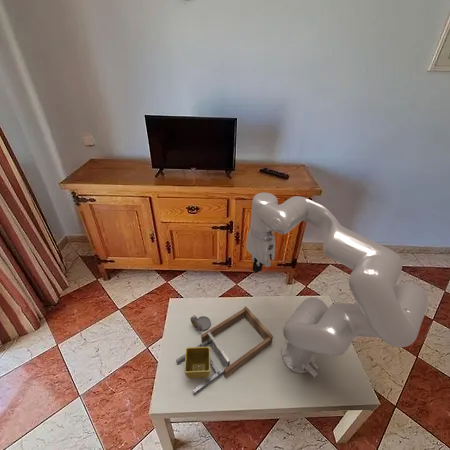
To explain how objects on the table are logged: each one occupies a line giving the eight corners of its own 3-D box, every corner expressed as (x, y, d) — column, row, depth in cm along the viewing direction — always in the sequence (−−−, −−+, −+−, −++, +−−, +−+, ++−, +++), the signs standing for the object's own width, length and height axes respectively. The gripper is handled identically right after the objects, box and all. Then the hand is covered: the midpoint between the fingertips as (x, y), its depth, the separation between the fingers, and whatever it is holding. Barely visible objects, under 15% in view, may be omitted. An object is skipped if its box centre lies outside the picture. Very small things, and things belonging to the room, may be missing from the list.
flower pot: (210, 358, 100) (210, 346, 95) (210, 383, 93) (210, 371, 88) (187, 359, 100) (185, 347, 94) (186, 384, 93) (184, 372, 87)
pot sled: (229, 369, 97) (229, 360, 92) (194, 395, 90) (193, 386, 85) (209, 341, 105) (209, 331, 101) (176, 362, 98) (174, 353, 94)
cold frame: (271, 344, 105) (273, 336, 101) (225, 378, 94) (225, 370, 91) (245, 314, 116) (245, 305, 112) (201, 342, 105) (200, 333, 102)
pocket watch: (212, 319, 114) (211, 304, 108) (207, 336, 107) (206, 322, 101) (194, 315, 115) (193, 301, 109) (188, 332, 109) (186, 318, 103)
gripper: (287, 238, 80) (279, 278, 91) (255, 215, 90) (251, 254, 101) (269, 247, 76) (263, 288, 87) (238, 222, 86) (236, 262, 97)
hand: (257, 270), depth 94 cm, fingers closed
